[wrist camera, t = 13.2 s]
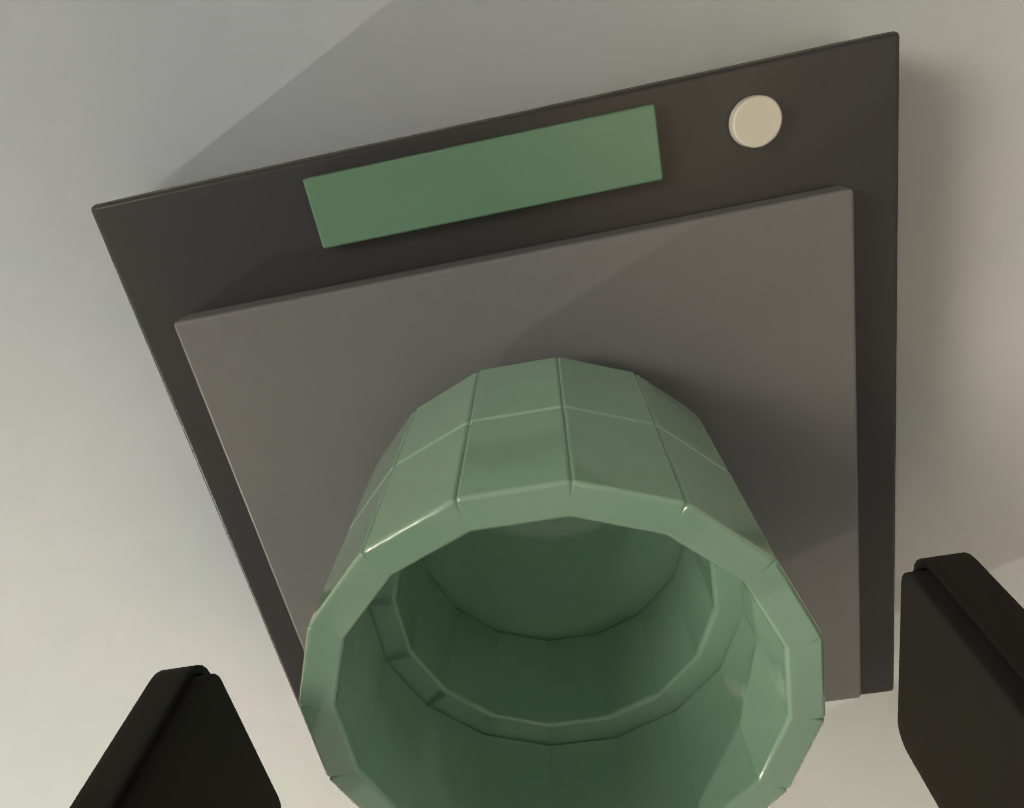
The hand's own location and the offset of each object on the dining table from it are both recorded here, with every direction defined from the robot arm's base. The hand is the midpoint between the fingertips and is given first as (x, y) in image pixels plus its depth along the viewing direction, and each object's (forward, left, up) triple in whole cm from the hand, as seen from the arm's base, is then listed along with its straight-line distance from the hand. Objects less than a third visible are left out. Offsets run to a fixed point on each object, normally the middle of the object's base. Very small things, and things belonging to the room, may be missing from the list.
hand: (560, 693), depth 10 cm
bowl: (0, 0, -5) cm, 5 cm away
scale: (0, 0, -7) cm, 7 cm away
